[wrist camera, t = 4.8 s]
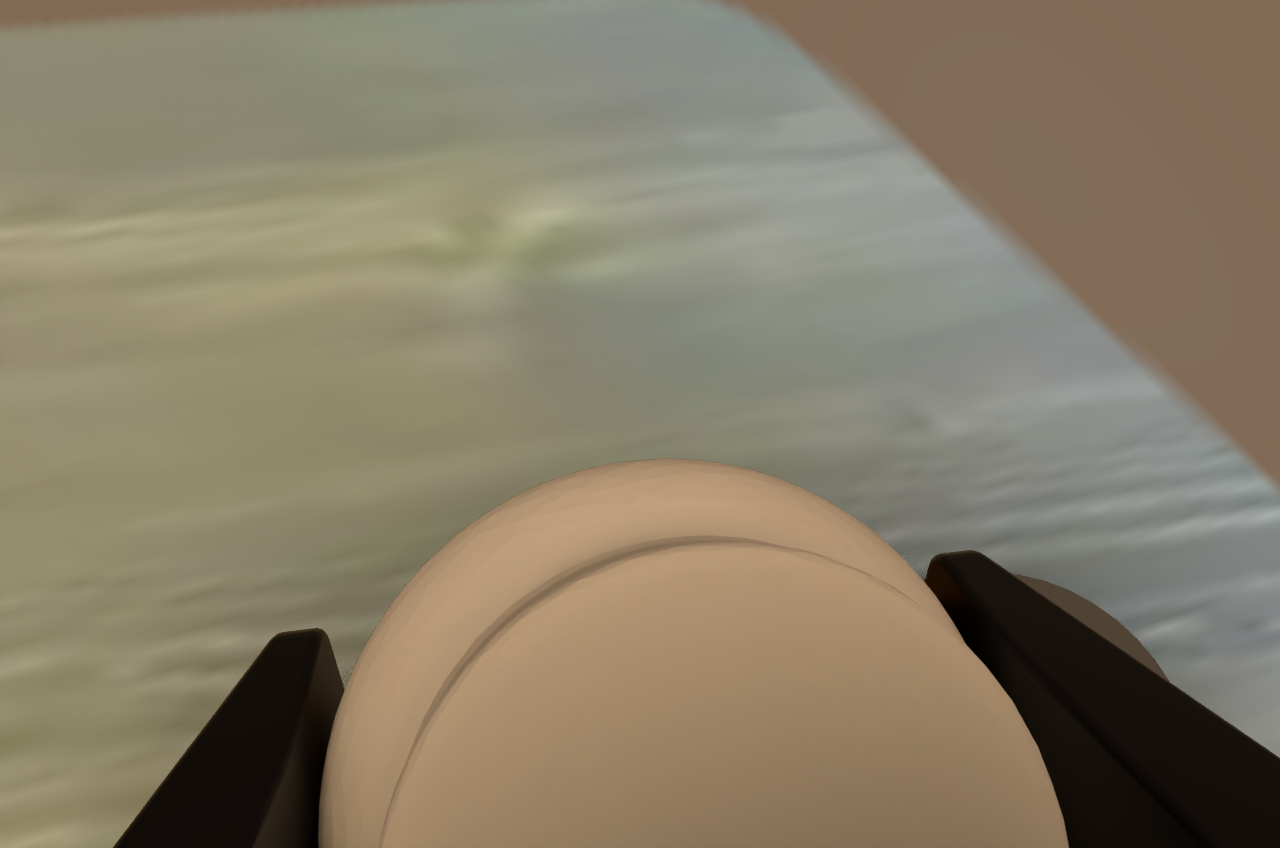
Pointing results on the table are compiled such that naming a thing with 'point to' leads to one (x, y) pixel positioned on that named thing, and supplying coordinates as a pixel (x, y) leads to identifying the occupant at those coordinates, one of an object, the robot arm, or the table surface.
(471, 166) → the table surface
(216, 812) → the robot arm
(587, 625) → the supplement bottle
